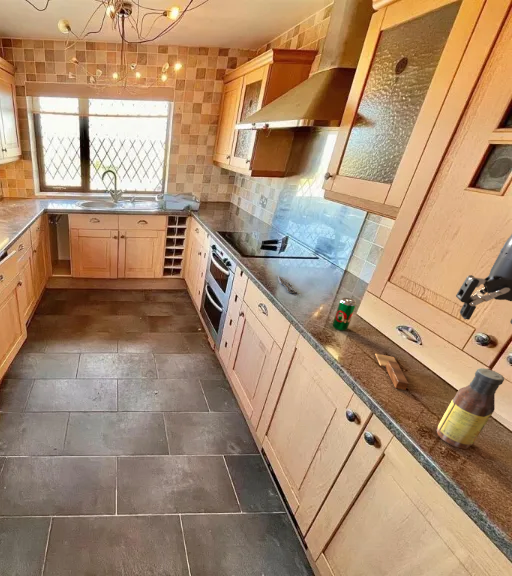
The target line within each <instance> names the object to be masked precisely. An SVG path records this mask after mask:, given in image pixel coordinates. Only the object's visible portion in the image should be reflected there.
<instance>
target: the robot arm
mask: <svg viewBox="0 0 512 576" xmlns="http://www.w3.org/2000/svg"><path fill="white" fill-rule="evenodd" d="M481 285H483V287H481V288H480V286H481ZM476 288H479V289H477V290H476ZM455 297H456V298H457V299H458V300H459V301H460V302H461V303H463V304H462V307H461V309H460V310H459V314H460V316H461V317H462V319H464V320H466V321H467V320H468V321H469V320H470V319H471V318H472V316H473V314H474V312H475V311H476V308H477V306H478V305H480V304H482V303H485V302H490V301H491V300H493V299H494V300H498V301H507V302H508V301H509V302H512V233H511V234H510V236H509V237H508V238H507V239H506V241H505V242H504V244H503V246H502V248H501V249H500V251H499V253H498V255H497V257H496V259H495V261H494V263H493V265H492V267H491V269H490V271H489V274H488V275H487V276H486V277H485V278H481V277H475V276H474V275H473V274H470V275H467V276H466V278H465V279H464V281H463V283H462V284H461V286H460V287H459V289H458V292H457V294H455ZM510 324H511V325H512V318H511V319H510Z"/></svg>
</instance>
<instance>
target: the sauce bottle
mask: <svg viewBox="0 0 512 576" xmlns="http://www.w3.org/2000/svg"><path fill="white" fill-rule="evenodd" d="M504 381H505V377H504V376H503V375H502V374H501V373H499V372H497V371H495V370H491V369H489V368H483V367H481V368H480V367H479V368H477V369H476V371H475V373H474V377H473V378H472V381H471V382H470V383H469V384H468V385H466V386H463V387H460V388H458V391H457V392H456V393H455V395H454V397H453V398H452V400H451V401H450V403H449V405H448V406H447V408H446V411H445V412H444V414H443V416H442V418H441V419H440V421H439V423H438V425H437V427H436V433H437V436H438V437H439V438H440V439H441V440H443V441H444V442H445V443H446V444H448V445H451V446H452V447H456V448H459V449H464V450H465V449H469V448H470V447H471V446H472V445H473V444H475V442H476V440H477V439H478V437H479V436H480V435H481V433H482V431H483V429H484V427H485V426H486V425H487V423H488V422H489V420H490V418H491V417H492V415H493V414H494V412H495V407H496V406H495V404H496V403H495V394H496V393H497V390H498V388H499V387H500V386H501V385H503V383H504Z"/></svg>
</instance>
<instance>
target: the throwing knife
mask: <svg viewBox="0 0 512 576" xmlns="http://www.w3.org/2000/svg"><path fill="white" fill-rule="evenodd" d="M277 280H278V282H279V284H280V285H282V286H284V288H286V290H287V293H288V294H296V293H297V290H295V289H293V288H292V287H291V285H290V283H289V282H288V281H287V280H285V279H284V278H283V277H281V276H279V275H277Z"/></svg>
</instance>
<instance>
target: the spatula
mask: <svg viewBox="0 0 512 576" xmlns="http://www.w3.org/2000/svg"><path fill="white" fill-rule="evenodd" d="M374 355H375V357H376V361H377V362H378V364H379V366H380V367H385V369H386V372H387V374H388V375H389V377H390V380H391V382H392V384H393V386H394V389H399V390H402V391H406V390H407V388H408V386H409V382H408V380H407V378H406V376H405V374H404V373H403V371H402V369H401V367H400V365H399V363H398V362H397V360H396V358H395V357H394V356H390V355H385V354H381V353H375V354H374Z"/></svg>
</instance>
